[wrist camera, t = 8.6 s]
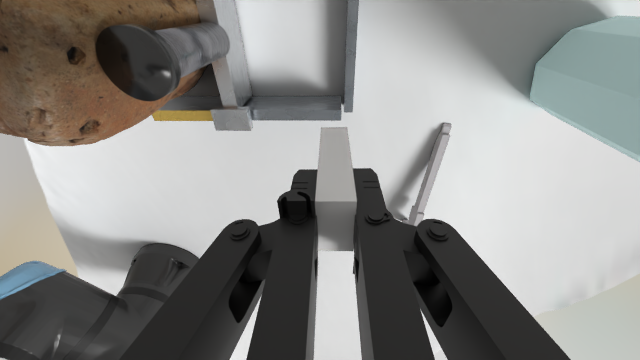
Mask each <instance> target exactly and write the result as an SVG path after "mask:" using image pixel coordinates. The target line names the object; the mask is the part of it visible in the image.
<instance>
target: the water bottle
mask: <svg viewBox="0 0 640 360" xmlns="http://www.w3.org/2000/svg"><path fill="white" fill-rule="evenodd" d="M530 100H531V101H533V102H534V103H536V104H537V105H538V106H540V107H541V108H542V109H544V110H545V111H547V112H548V113H549V114H551V115H553V116H555V117H556V118H558V119H560V120H562V121H564V122H566V123H568V124H569V125H571V126H573V127H575V128H577V129H579V130H581V131H582V132H584V133H586V134H588V135H590V136H592V137H594V138H595V139H597V140H599V141H601V142H603V143H605V144H607V145H609V146H610V147H612V148H614V149H616V150H618V151H620V152H622V153H623V154H625V155H627V156H629V157H631V158H633V159H635V160H636V161H638V162H640V17H633V16H616V17H612V18H609V19H605V20H602V21H598V22H595V23H591V24H588V25H584V26H581V27H577V28H574V29H571V30H570V31H569V32H568V33H566V34H565V35H564V36H563V37H562V38H561V39H560V40H559V41H558V42H557V43H556V44H555V45H554V46H553V47H552V48H551V49H550V50H549V51H548V52H547V53H546V54H545V55H544V56H543V57H542V58H541V59H540V60H539V61H538V62H537V63H536V66H535V71H534V77H533V82H532V87H531V93H530Z"/></svg>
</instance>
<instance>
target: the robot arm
mask: <svg viewBox="0 0 640 360" xmlns="http://www.w3.org/2000/svg"><path fill="white" fill-rule="evenodd" d="M277 203H278V208H279V214H280V219H278V220H277V221H275V222H272V223H269V224H265V225H261V226H258V225H257V224H256V222H254V221H252V220H249V219H242V220H237V221H234V222H232V223H231V224H229V225H228V226H227V227H225V228H224V229H223V231H222V232H221V233H220V234H219V236H218V237H217V238H216V239H215V241H214V242H213V243H212V244H211V246H210V247H209V248H208V249H207V250H206V252H205V253H204V254H203V255H202V257H201V258H200V259H198V258H197V257H196V256H195V255H193V254H191V253H190V252H188V251H186V250H184V249H181V248H178V247H175V246H171V245H166V244H150V245H147V246H144V247H143V248H141V249H140V251H139V252H138V253H137V254H136V256H135V257H134V259H133V260H132V263H131V267H130V269H129V272H128V274H127V277H126V280H125V283H124V286H123V288H122V289H121V290H120V292H119V293H118V294H117V296H114V295H112V294H110V293H108V292H106V291H104V290H102V289H100V288H98V287H96V286H94V285H92V284H90V283H88V282H86V281H84V280H82V279H80V278H78V277H76V276H74V275H71V274H70V273H68V272H66V270H64V269H58V268H56V267H53V266H51V265H49V264H46V263H43V262H40V261H31V262H26V263H24V264H21V265H19V266H17V267H16V268H14V269H12V270H10V271H9V272H7V273H6V274H4V275H3V276H1V277H0V360H229V359H230V357H231V355H232V353H233V351H234V349H235V347H236V345H237V343H238V341H239V339H240V337H241V335H242V333H243V331H244V329H245V327H246V325H247V323H248V321H249V319H250V317H251V315H252V313H253V311H254V309H255V307H256V305H257V303H258V301H259V299H260V296H261V294H262V296H261V301H260V305H259V309H258V313H257V317H256V322H255V326H254V330H253V334H252V338H251V343H250V347H249V351H248V355H247V359H246V360H313V358H314V337H315V316H316V295H317V275H318V251H353V250H354V266H353V274H355V283H356V295H357V306H358V318H359V330H360V342H361V354H362V360H435V359H434V355H433V352H432V348H431V345H430V341H429V338H428V335H427V331H426V328H425V324H424V321H423V317H422V314H421V311H422V312H423V314H424V316H425V318H426V320H427V322H428V324H429V326H430V327H431V329H432V331H433V333H434V335H435V337H436V339H437V340H438V342H439V344H440V346H441V348H442V350H443V352H444V353H445V355H446V357H447V359H448V360H570V359H569V357H568V356H567V355H566V354H565V353H564V352H563V350H562V349H561V348H560V347H559V346H558V345H557V344H556V343H555V341H554V340H553V339H552V338H551V337H550V336H549V335H548V334H547V332H546V331H545V330H544V329H543V328H542V327H541V326H540V325H539V324H538V322H537V321H536V320H535V319H534V318H533V317H532V316H531V314H530V313H529V312H528V311H527V310H526V309H525V308H524V307H523V305H522V304H521V303H520V302H519V301H518V300H517V299H516V297H515V296H514V295H513V294H512V293H511V292H510V291H509V290H508V288H507V287H506V286H505V285H504V284H503V283H502V282H501V281H500V279H499V278H498V277H497V276H496V275H495V274H494V273H493V272H492V270H491V269H490V268H489V267H488V266H487V265H486V264H485V263H484V261H483V260H482V259H481V258H480V257H479V256H478V255H477V254H476V252H475V251H474V250H473V249H472V248H471V247H470V246H469V245H468V243H467V242H466V241H465V240H464V239H463V238H462V237H461V236H460V234H459V233H458V232H457V231H456V230H455V229H454V228H453V227H452V226H450V225H449V224H447V223H445V222H443V221H441V220H436V219H426V220H423V221H421V222H420V223H419V224H418V225H417V226H414V225H410V224H406V223H403V222H400V221H398V220H396V219H394V218H393V216H392V214H391V213H390V212H389V211H387V209H386V206H385V202H384V198H383V195H382V191H381V188H380V184H379V180H378V176H377V174H376V173H375V172H374V171H373V170H372V169H371V168H363V169H353V168H352V160H351V152H350V145H349V137H348V130H347V127H332V128H321V136H320V148H319V160H318V170H298V172H297V173H296V174H295V175H294V177H293V181H292V186H291V190H290V191H288V192H285V193H284V194H282V195H281V196H280V197H279V199H278V200H277ZM420 309H421V310H420Z"/></svg>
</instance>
